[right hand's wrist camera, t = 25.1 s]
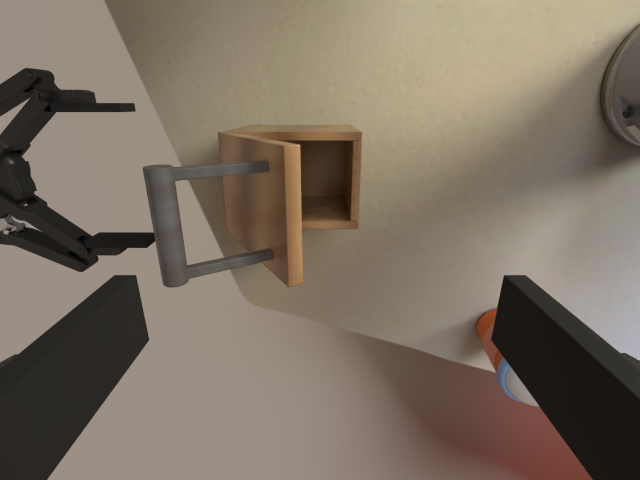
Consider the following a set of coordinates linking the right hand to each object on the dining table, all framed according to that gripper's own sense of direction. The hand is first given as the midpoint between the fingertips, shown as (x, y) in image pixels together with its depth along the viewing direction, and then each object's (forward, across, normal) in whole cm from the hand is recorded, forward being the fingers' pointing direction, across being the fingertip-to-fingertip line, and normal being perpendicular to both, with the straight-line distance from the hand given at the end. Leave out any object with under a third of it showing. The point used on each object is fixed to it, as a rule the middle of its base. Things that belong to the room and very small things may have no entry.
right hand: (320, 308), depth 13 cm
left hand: (+25, -18, 0) cm, 31 cm away
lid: (+17, -5, 0) cm, 18 cm away
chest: (+34, -2, 0) cm, 34 cm away
